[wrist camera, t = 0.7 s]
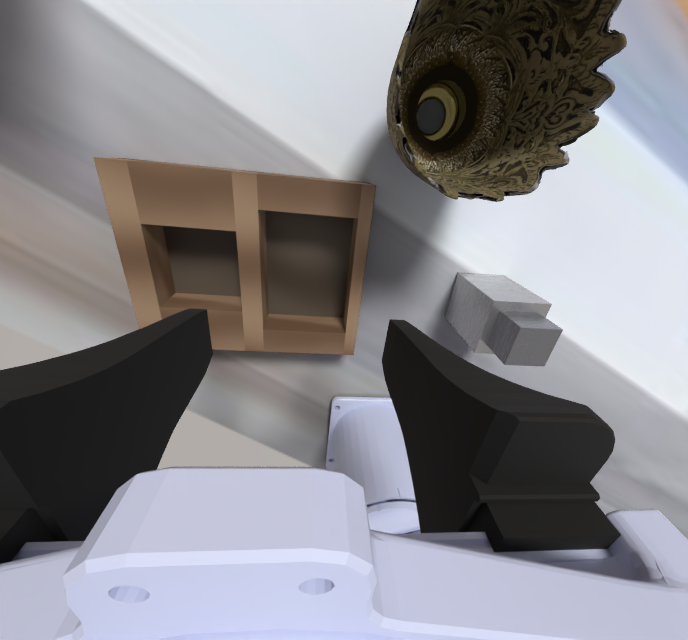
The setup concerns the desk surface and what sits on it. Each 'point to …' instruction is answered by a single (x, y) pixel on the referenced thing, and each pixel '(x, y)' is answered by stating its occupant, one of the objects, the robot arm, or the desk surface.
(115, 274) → the desk surface
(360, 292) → the socket board
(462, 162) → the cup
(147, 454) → the robot arm
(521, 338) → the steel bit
